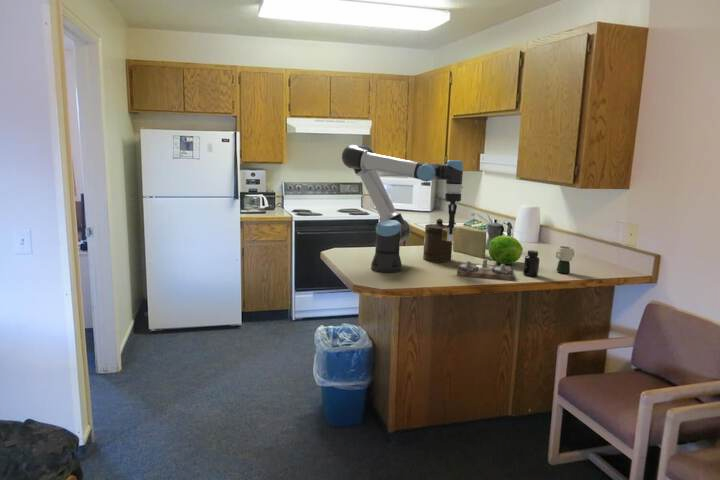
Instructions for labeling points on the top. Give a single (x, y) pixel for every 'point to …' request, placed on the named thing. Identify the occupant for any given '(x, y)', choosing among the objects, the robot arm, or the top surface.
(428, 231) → the wooden container
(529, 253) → the supplement bottle
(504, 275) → the gear board
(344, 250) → the top surface
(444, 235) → the faceted octagonal washer
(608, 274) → the top surface
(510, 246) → the lettuce
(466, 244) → the beige rectangular block
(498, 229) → the coffeepot
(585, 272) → the top surface
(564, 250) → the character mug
